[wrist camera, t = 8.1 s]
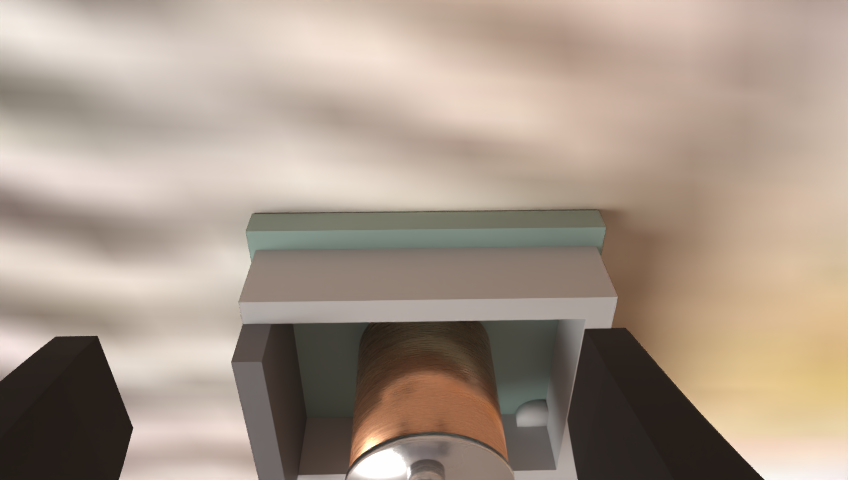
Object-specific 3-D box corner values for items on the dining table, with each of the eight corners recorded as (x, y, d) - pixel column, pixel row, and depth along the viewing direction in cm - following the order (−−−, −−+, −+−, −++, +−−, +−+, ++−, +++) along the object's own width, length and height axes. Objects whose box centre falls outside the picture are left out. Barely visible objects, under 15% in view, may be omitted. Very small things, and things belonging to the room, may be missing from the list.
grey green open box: (559, 418, 26) (588, 534, 22) (288, 423, 26) (267, 541, 22) (597, 209, 21) (646, 313, 16) (251, 213, 20) (213, 319, 16)
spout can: (495, 392, 24) (521, 562, 19) (366, 403, 24) (355, 573, 19) (491, 292, 21) (519, 457, 16) (345, 305, 21) (326, 473, 16)
